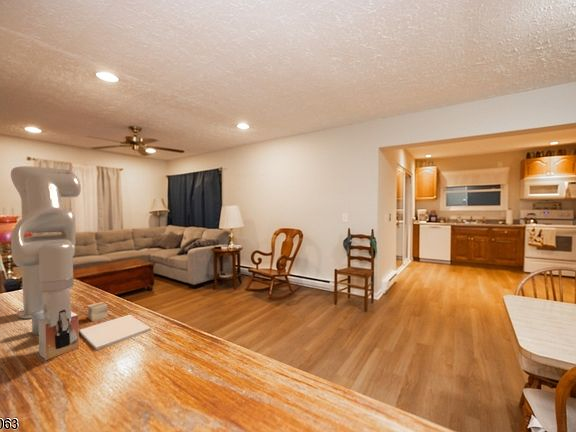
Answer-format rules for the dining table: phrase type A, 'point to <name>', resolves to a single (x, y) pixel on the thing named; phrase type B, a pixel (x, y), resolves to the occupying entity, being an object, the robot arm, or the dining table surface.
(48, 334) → the small box
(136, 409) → the dining table surface
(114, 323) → the mat
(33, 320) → the light grey domed piece
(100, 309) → the birch block
